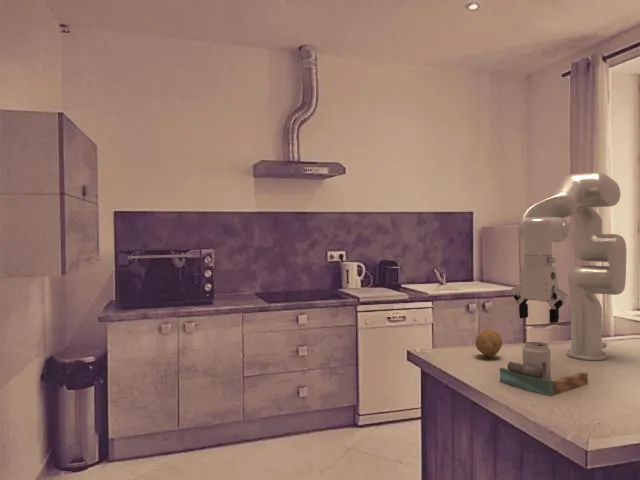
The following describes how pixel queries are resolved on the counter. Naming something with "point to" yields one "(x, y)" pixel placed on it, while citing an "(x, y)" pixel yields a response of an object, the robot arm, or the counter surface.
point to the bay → (539, 379)
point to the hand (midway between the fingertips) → (538, 320)
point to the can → (537, 356)
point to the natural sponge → (488, 342)
